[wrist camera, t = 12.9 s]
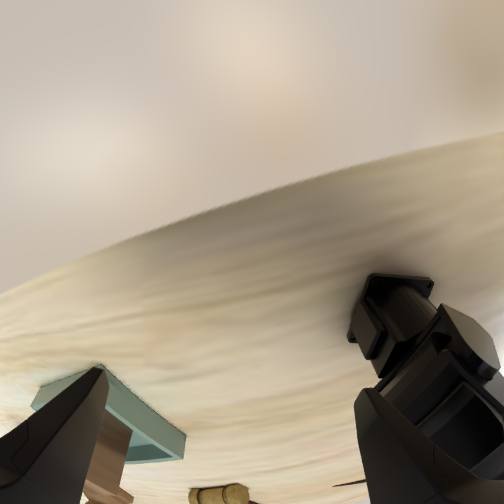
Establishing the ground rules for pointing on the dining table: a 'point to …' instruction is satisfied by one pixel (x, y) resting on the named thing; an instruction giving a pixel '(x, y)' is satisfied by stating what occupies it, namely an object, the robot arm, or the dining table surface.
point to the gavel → (220, 495)
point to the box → (129, 421)
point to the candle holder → (109, 498)
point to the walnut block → (108, 456)
